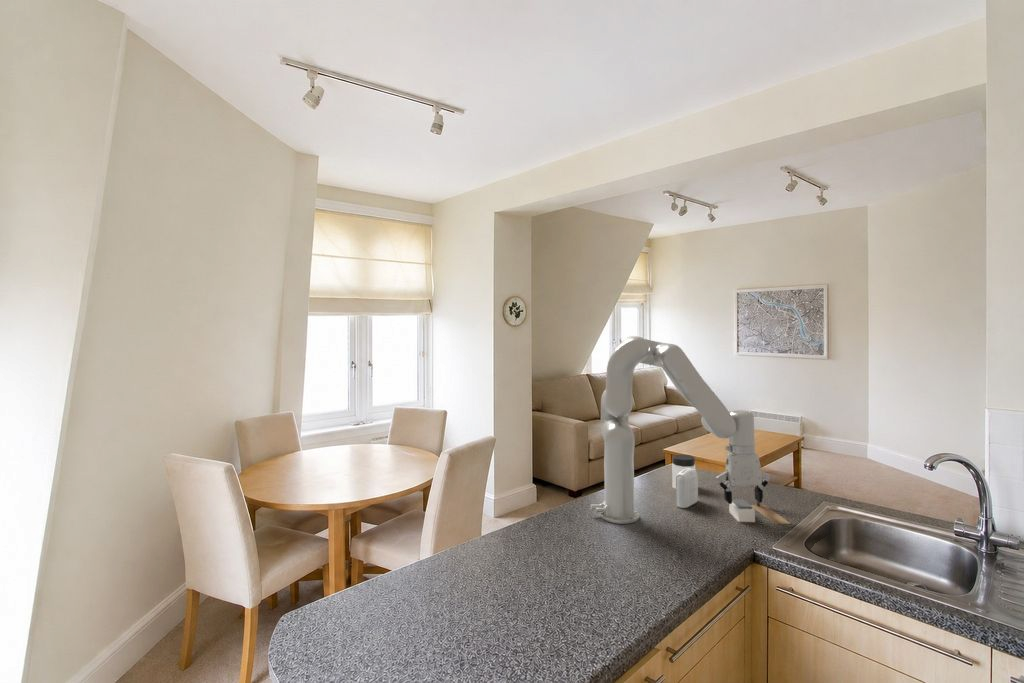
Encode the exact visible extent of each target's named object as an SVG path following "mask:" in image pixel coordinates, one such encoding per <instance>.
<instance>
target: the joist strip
mask: <svg viewBox="0 0 1024 683" xmlns="http://www.w3.org/2000/svg"><path fill="white" fill-rule="evenodd" d="M750 505H751V506H752V507H753V508H754V509H755V511H756V512H758V513H759V514H761V515H762V516H764V517H765V518H766V519H768V520H769V521H770V522H772V524H774V525H784V524H786V525H788V524H790V525H791V524H792V523H791V522H790V521H788V520H787V519H785V518H784V517H783V516H781V515H779V514H778V513H777V512H776V511H774V510H773V509H771V508H769V507H768V506H767V505H765V504H760V506H757V504H750Z"/></svg>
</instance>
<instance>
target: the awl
mask: <svg viewBox="0 0 1024 683" xmlns="http://www.w3.org/2000/svg"><path fill="white" fill-rule="evenodd" d="M755 487H756V486H753V491H754V493H755ZM756 505H757V506H760V505H761V502H759V501H757V500H756Z"/></svg>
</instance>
